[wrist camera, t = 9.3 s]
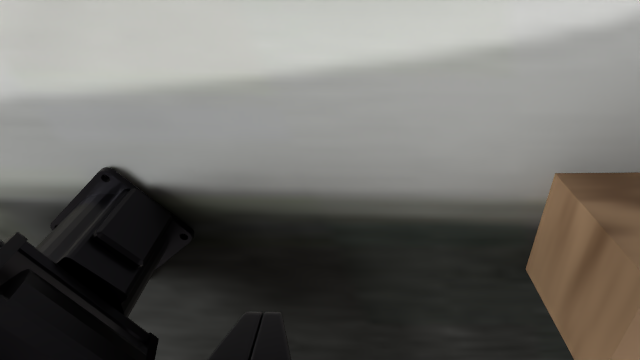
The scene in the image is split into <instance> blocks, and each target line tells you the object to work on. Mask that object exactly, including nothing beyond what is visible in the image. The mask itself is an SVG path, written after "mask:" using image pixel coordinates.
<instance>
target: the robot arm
mask: <svg viewBox="0 0 640 360" xmlns="http://www.w3.org/2000/svg"><path fill="white" fill-rule="evenodd" d="M105 175H107V176H109V178H110V179H109V178H107V177H106V176H105ZM50 226H51V229H52V230H53V231H52V232H51V233H50V234H49V235H48V236H47V237H46V238H45V239H44V240H43V241H42V242H41V243H40V244H39V245H38V246H37V247H36V248H35V247H34V246H32V245H31V244H30V243H28V242H27V240H28V239H27V238H25V237H24V236H23V235H21V234H20V233H19V232H16V233H15V234H13V235H12V236H11V237H9V238H8V239H6V240H5V241H4V242H3V241H2V240H0V360H155V355H156V350H157V345H158V338H157V337H156V336H154V335H153V334H152V333H147V332H146V331H145V330H143V329H142V328H141V327H139V326H138V325H137V324H135V323H134V322H133V321H132V320H130V319H129V318H128V316H129V314H130V312H131V311H132V309H133V307H134V305H135V304H136V302H137V300H138V298H139V297H140V295H141V293H142V291H143V290H144V288H145V286H146V284H147V283H148V281H149V279H150V277H151V276H152V274H153V272H154V271H155V270H156V269H157V268H158V267H160V266H161V265H162V264H163V263H165V262H166V261H167V260H168V259H170V258H171V257H172V256H173V255H174V254H176V253H177V252H178V251H179V250H181V249H182V248H183V247H184V246H186V245H187V244H188V243H189V242H190V241H191V240H192V238H193V236H194V232H193V230H192V229H191V228H190V227H188V226H187V225H186V224H184V223H183V222H182V221H180V220H179V219H178V218H176V217H175V216H174V215H172V214H171V213H170V212H169V211H167V210H166V209H165V208H163V207H162V206H161V205H159V204H158V203H157V202H155V201H154V200H153V199H151V198H150V197H149V196H148V195H146V194H145V193H144V192H142V191H141V190H140V189H138V188H137V187H136V186H134V185H133V184H132V183H130V182H129V181H128V180H126V179H125V178H124V177H123V176H121V175H120V174H119V173H117V172H116V171H115V170H113V169H111V168H108V167H105V168H103V169H101V170H100V171H99V172H98V173H97V174H96V175H95V176H94V177H93V179H92V180H91V181H90V182H89V183H88V184H87V185H86V186H85V187H84V188H83V189H82V190H81V192H80V193H79V194H78V195H77V196H76V197H75V198H74V199H73V200H72V201H71V202H70V204H69V205H68V206H67V207H66V208H65V209H64V210H63V211H62V212H61V213H60V214H59V215H58V217H57V218H56V219H55V220H54V221H53V222H52V223H51V225H50ZM183 234H186V235H187V236H185V235H183ZM207 360H291V356H290V351H289V346H288V341H287V336H286V331H285V326H284V321H283V316H282V313H281V312H265V313H264V314H263V313H262V312H252V311H248V312H245V313H244V314H243V315H242V316H241V318H240V319H239V320H238V321H237V323H236V324H235V325H234V326H233V328H232V329H231V330H230V332H229V333H228V334H227V335H226V337H225V338H224V339H223V340H222V342H221V343H220V344H219V345H218V347H217V348H216V349H215V351H214V352H213V353H212V354H211V356H210V357H209V358H208V359H207Z"/></svg>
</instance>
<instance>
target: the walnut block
mask: <svg viewBox="0 0 640 360" xmlns="http://www.w3.org/2000/svg"><path fill="white" fill-rule="evenodd" d="M526 271H527V273H528V275H529V276H530V278H531V280H532V282H533V284H534V286H535V288H536V289H537V291H538V293H539V295H540V297H541V299H542V301H543V302H544V304H545V306H546V308H547V310H548V312H549V314H550V315H551V317H552V319H553V321H554V323H555V325H556V327H557V328H558V330H559V332H560V334H561V336H562V338H563V340H564V341H565V343H566V345H567V347H568V349H569V351H570V353H571V354H572V356H573V358H574V360H640V173H555V176H554V179H553V182H552V185H551V189H550V192H549V195H548V198H547V202H546V205H545V208H544V211H543V214H542V218H541V221H540V224H539V227H538V231H537V234H536V237H535V240H534V244H533V247H532V250H531V253H530V257H529V260H528V263H527V266H526Z"/></svg>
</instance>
